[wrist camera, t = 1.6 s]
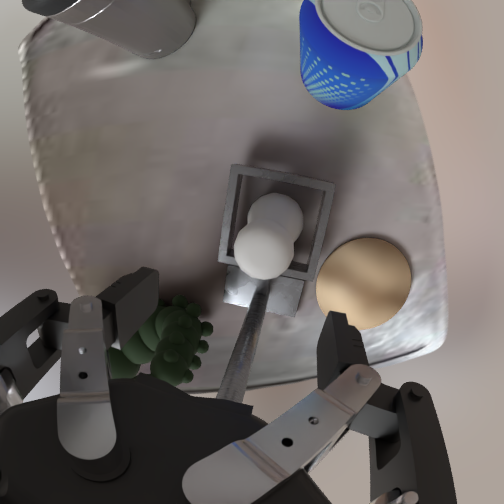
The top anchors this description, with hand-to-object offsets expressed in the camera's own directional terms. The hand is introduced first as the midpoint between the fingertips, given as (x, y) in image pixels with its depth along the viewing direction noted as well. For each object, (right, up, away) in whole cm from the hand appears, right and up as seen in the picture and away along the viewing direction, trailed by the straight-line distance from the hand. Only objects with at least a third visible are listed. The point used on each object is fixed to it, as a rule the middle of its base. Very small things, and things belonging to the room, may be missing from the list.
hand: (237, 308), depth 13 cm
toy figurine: (-14, -8, +27) cm, 31 cm away
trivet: (+14, -2, +20) cm, 24 cm away
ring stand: (+3, +4, +20) cm, 20 cm away
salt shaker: (+3, +6, +19) cm, 20 cm away
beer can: (+10, +21, +13) cm, 27 cm away
